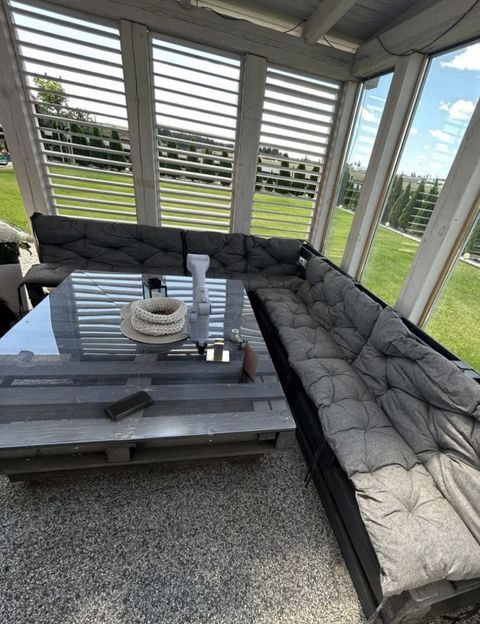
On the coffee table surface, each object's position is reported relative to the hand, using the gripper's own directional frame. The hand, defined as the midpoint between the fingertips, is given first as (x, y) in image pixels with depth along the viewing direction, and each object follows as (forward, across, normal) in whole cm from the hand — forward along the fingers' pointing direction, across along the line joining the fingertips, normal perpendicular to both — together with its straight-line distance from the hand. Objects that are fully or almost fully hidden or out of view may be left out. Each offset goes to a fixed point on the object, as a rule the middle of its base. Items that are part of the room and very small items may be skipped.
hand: (201, 350), depth 141 cm
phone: (+4, -35, +25) cm, 43 cm away
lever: (-1, 0, -5) cm, 5 cm away
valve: (+4, +13, -18) cm, 23 cm away
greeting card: (+4, -13, -22) cm, 26 cm away
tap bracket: (+4, 0, -8) cm, 9 cm away
